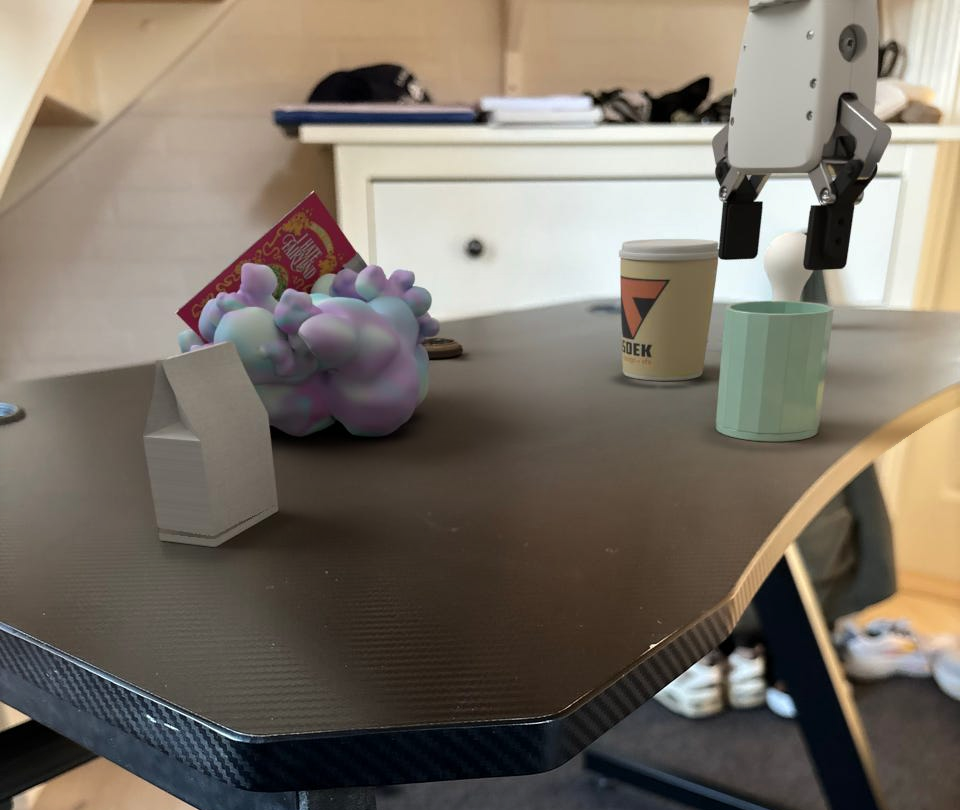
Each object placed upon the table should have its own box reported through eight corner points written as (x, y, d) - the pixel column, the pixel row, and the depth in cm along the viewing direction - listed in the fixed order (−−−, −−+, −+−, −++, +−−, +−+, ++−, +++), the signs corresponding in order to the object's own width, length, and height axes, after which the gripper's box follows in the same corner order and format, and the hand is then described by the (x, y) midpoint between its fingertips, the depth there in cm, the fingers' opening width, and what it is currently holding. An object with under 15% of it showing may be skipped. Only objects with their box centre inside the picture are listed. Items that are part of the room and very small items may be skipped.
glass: (813, 419, 80) (827, 301, 76) (821, 443, 73) (838, 314, 69) (715, 417, 81) (725, 300, 78) (715, 440, 75) (725, 313, 71)
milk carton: (278, 510, 61) (260, 341, 57) (215, 547, 56) (189, 362, 51) (226, 505, 63) (204, 339, 58) (159, 540, 57) (130, 359, 53)
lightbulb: (815, 326, 124) (826, 230, 119) (800, 333, 119) (812, 233, 115) (766, 323, 127) (775, 229, 122) (750, 330, 122) (759, 232, 118)
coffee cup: (598, 369, 101) (601, 241, 96) (679, 362, 104) (687, 237, 99) (643, 386, 93) (650, 247, 88) (730, 377, 96) (741, 242, 91)
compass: (458, 360, 108) (456, 288, 104) (386, 359, 109) (382, 288, 106) (470, 347, 115) (469, 280, 112) (402, 347, 116) (399, 280, 113)
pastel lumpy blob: (310, 410, 65) (384, 148, 65) (75, 371, 74) (141, 141, 74) (446, 494, 83) (504, 289, 84) (244, 454, 92) (297, 270, 93)
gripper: (959, -38, 59) (908, 271, 66) (773, 4, 73) (748, 254, 81) (858, -48, 56) (816, 276, 64) (686, -2, 71) (668, 257, 78)
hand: (778, 263), depth 72 cm, fingers open, 9 cm apart
